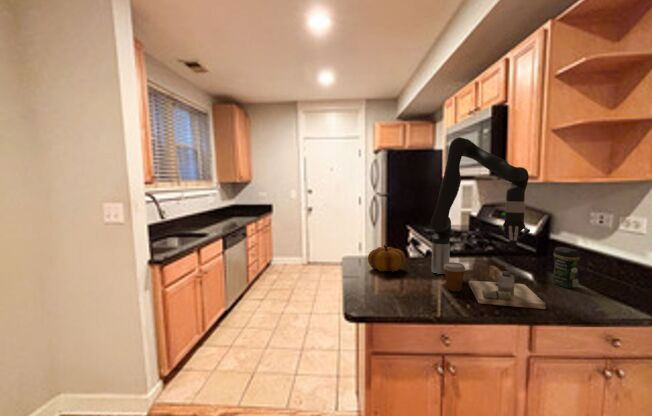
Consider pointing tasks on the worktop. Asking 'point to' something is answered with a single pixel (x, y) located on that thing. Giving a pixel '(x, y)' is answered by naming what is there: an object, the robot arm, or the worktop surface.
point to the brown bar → (503, 280)
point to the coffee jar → (566, 267)
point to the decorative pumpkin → (386, 259)
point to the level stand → (505, 295)
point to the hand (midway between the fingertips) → (512, 248)
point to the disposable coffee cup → (454, 275)
